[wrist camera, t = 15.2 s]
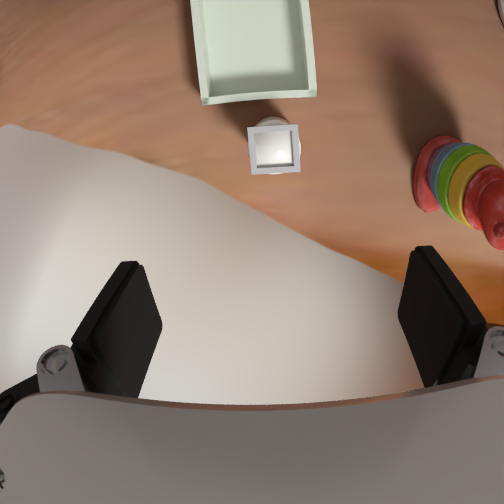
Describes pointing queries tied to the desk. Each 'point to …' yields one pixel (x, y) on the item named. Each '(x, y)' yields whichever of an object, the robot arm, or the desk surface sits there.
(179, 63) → the desk surface
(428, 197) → the stacking bear
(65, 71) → the desk surface
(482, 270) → the desk surface
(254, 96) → the tray
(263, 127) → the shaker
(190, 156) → the desk surface
